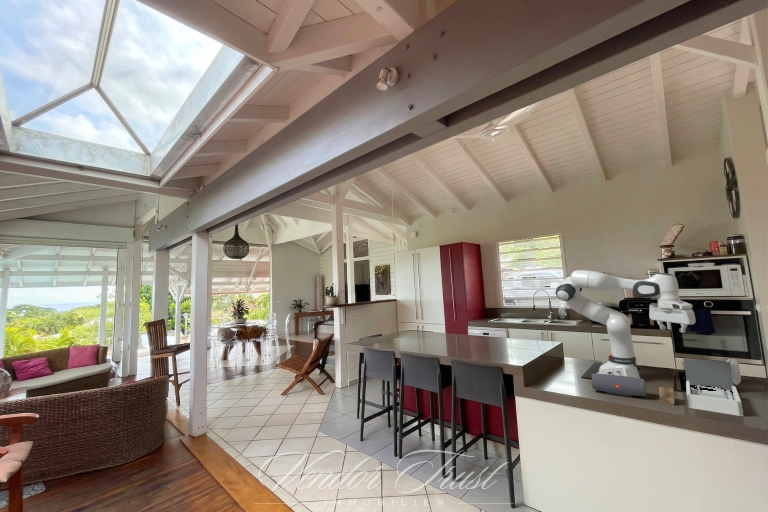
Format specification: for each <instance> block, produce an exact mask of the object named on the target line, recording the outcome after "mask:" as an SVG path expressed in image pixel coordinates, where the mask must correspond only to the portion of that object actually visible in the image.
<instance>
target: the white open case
mask: <svg viewBox="0 0 768 512" xmlns="http://www.w3.org/2000/svg"><path fill="white" fill-rule="evenodd" d="M683 365H684V372H685V378H686V381H689V382H690V385H702V386H697V389H698V390H697V389H694V388H692V387H691V394H692V395H699V396H706V397H713V398H720V399H727V400H734V398H733V394H732V392H730V391H732V386H735V385H734V384H733V377H732V371H731V365H730V362H726V361H723V360H721V361H720V360H709V359H698V358H687V357H683ZM705 386H711V387H705ZM699 387H702V388H708V389H713V390H716V391H708V390H700V388H699ZM713 387H718V388H713ZM721 388H723V389H721ZM724 389H725V390H726V391H724Z"/></svg>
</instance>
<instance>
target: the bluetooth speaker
mask: <svg viewBox="0 0 768 512" xmlns="http://www.w3.org/2000/svg"><path fill="white" fill-rule="evenodd" d="M640 378H641V377H640ZM640 378H634V377H627V376H619V375H609V374H596V373H591V385H592V389H593V390H594V391H600V392H606V393H607V394H608V393H609V394H608V395H613V394H616V395H615V396H620V395H623V397H629V396H631V397H632V396H638V397H647V390H646V383H645V378H641V379H640Z"/></svg>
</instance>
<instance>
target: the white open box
mask: <svg viewBox="0 0 768 512" xmlns="http://www.w3.org/2000/svg"><path fill="white" fill-rule="evenodd" d="M685 382H686V383H685V384H686V386H685V387H686V400H687V405H688V408H689V409H696V410H702V411H708V412H713V413H720V414H725V415H733V416H738V417H745V416H744V410H743V404H742V400H741V398H740V395H739V391H738V390H737V387H736V385H734V386H732V392H733V393H732V392H731V393H732V398H733V400H727V399H720V398H713V397H706V396H699V395H692V388H691V387H690V382H689V381H687V380H686V381H685Z"/></svg>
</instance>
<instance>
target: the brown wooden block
mask: <svg viewBox="0 0 768 512" xmlns="http://www.w3.org/2000/svg"><path fill="white" fill-rule="evenodd" d="M658 388H659V390H658V393H659V394H658V395H659V402H660V404H661V403H663V404H662V405H667V404H670V405H669V406H673V405H674V403H675V404H676V401H675V394H674V388H671V387H664V386H659V387H658ZM674 406H675V405H674Z"/></svg>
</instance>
